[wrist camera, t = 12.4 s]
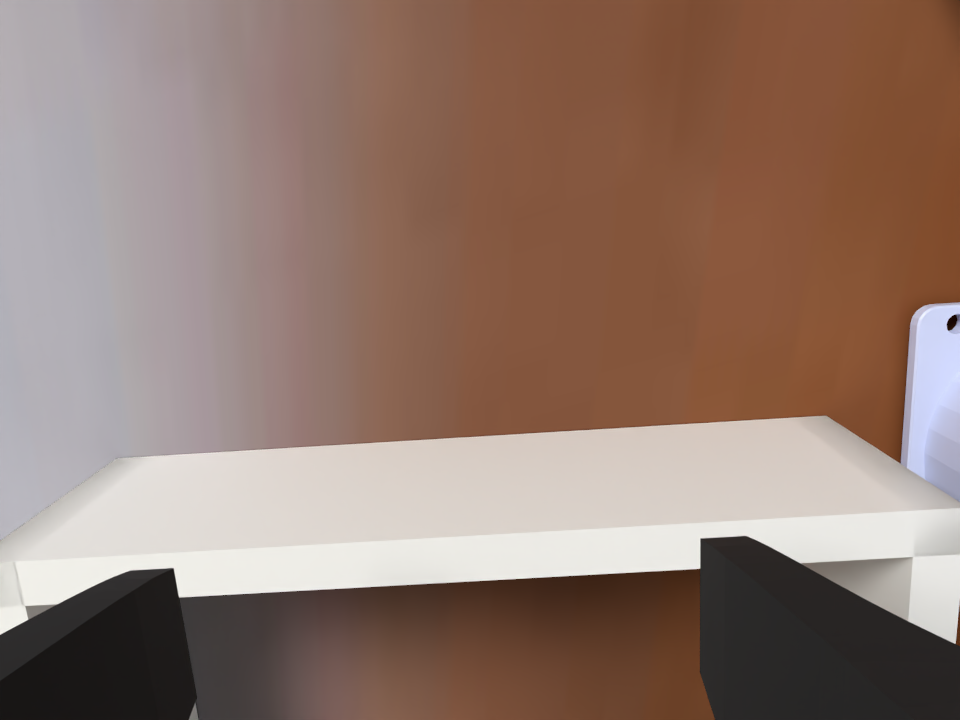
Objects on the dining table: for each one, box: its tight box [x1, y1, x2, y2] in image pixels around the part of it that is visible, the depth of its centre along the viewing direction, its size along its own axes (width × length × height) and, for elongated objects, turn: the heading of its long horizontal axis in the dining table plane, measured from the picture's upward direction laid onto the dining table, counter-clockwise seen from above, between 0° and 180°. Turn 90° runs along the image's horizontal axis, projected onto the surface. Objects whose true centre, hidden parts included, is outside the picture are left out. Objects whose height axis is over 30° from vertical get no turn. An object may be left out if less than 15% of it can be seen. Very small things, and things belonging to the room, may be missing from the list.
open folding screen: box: [0, 416, 960, 720], centre depth 18 cm, size 20×12×6 cm, turn 94°
